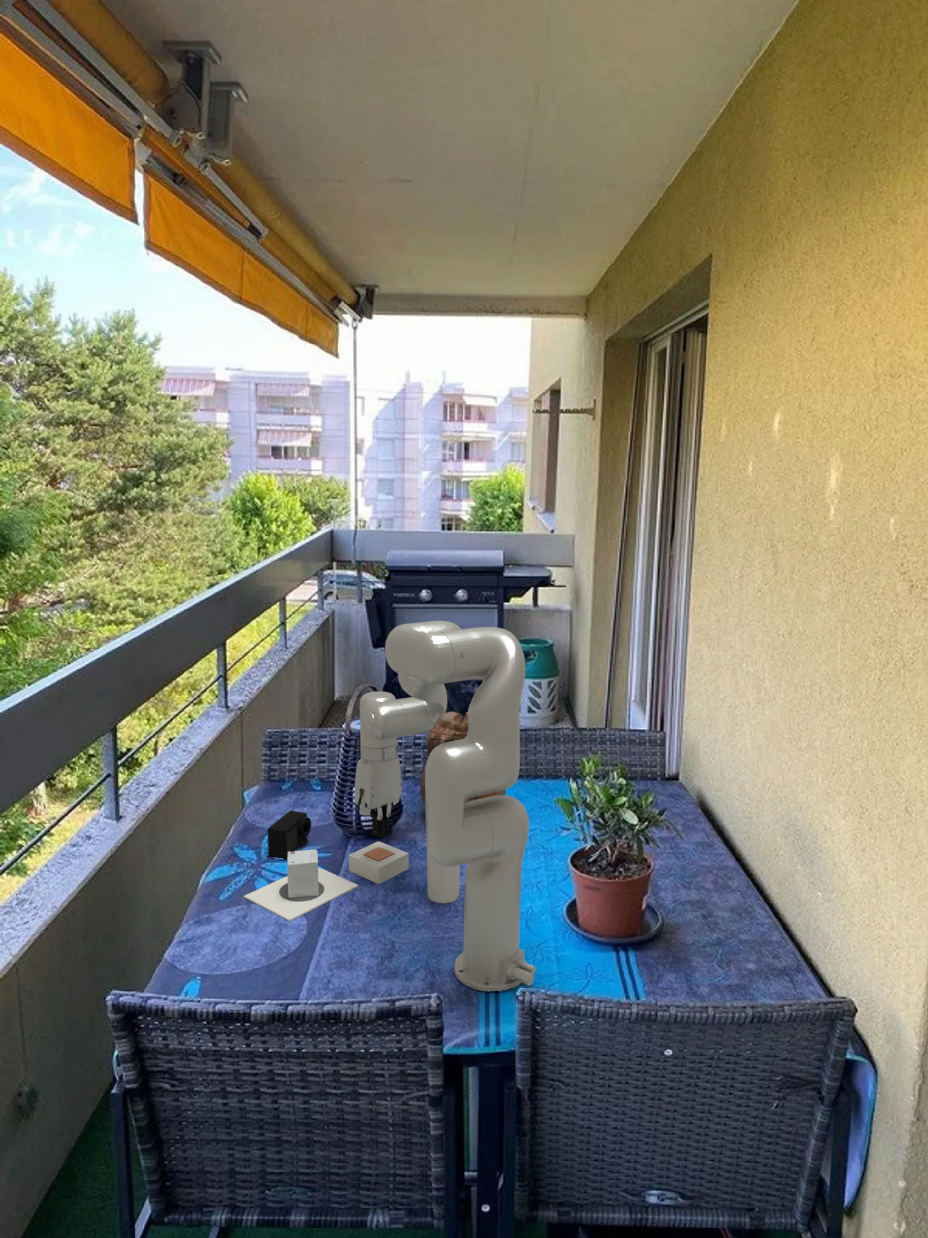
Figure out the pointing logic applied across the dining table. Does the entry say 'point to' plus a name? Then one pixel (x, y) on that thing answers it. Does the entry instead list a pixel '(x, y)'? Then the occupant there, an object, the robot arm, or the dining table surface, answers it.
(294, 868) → the skincare box
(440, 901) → the mug
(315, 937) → the dining table surface
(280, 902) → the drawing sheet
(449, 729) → the jug
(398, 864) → the button housing
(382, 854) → the button
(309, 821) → the digital camera
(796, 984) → the dining table surface
